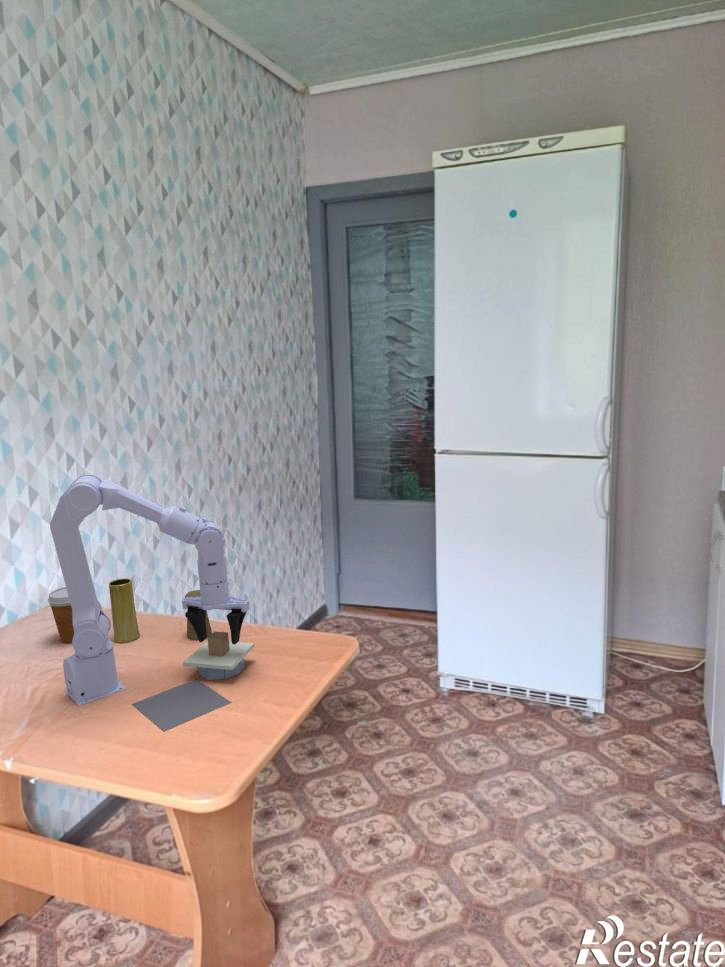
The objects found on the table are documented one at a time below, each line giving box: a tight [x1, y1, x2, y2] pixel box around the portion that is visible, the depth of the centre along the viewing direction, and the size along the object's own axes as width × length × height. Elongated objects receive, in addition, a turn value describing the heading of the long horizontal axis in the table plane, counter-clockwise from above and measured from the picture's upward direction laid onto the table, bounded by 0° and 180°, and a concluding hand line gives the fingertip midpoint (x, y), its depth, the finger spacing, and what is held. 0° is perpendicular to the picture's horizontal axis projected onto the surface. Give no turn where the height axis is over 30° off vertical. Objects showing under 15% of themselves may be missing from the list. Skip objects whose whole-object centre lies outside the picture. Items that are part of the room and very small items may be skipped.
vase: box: [108, 578, 141, 644], centre depth 163 cm, size 6×6×14 cm
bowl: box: [197, 657, 246, 680], centre depth 144 cm, size 9×9×4 cm
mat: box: [131, 678, 232, 733], centre depth 131 cm, size 14×14×1 cm
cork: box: [184, 589, 213, 641], centre depth 163 cm, size 6×6×11 cm
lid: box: [182, 630, 255, 670], centre depth 143 cm, size 11×11×5 cm
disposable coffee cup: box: [47, 586, 74, 644], centre depth 165 cm, size 10×10×12 cm
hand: (219, 641), depth 143 cm, fingers open, 7 cm apart
